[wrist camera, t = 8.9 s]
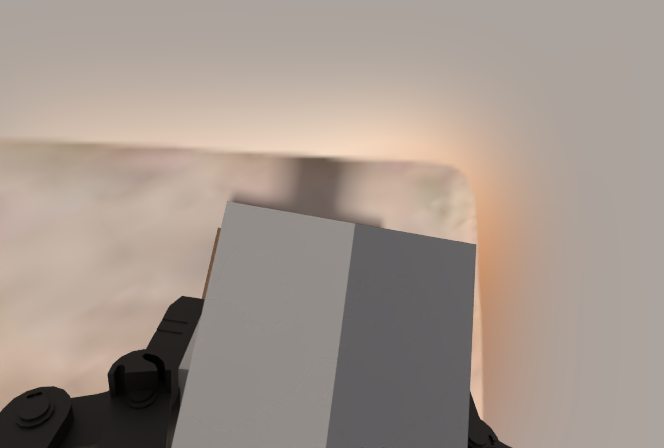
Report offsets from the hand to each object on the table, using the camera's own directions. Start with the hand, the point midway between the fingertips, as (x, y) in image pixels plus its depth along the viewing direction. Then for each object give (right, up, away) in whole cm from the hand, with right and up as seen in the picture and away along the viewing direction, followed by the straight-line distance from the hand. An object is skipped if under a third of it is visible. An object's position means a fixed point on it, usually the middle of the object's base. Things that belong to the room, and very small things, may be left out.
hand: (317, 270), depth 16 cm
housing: (-1, -4, +3) cm, 5 cm away
